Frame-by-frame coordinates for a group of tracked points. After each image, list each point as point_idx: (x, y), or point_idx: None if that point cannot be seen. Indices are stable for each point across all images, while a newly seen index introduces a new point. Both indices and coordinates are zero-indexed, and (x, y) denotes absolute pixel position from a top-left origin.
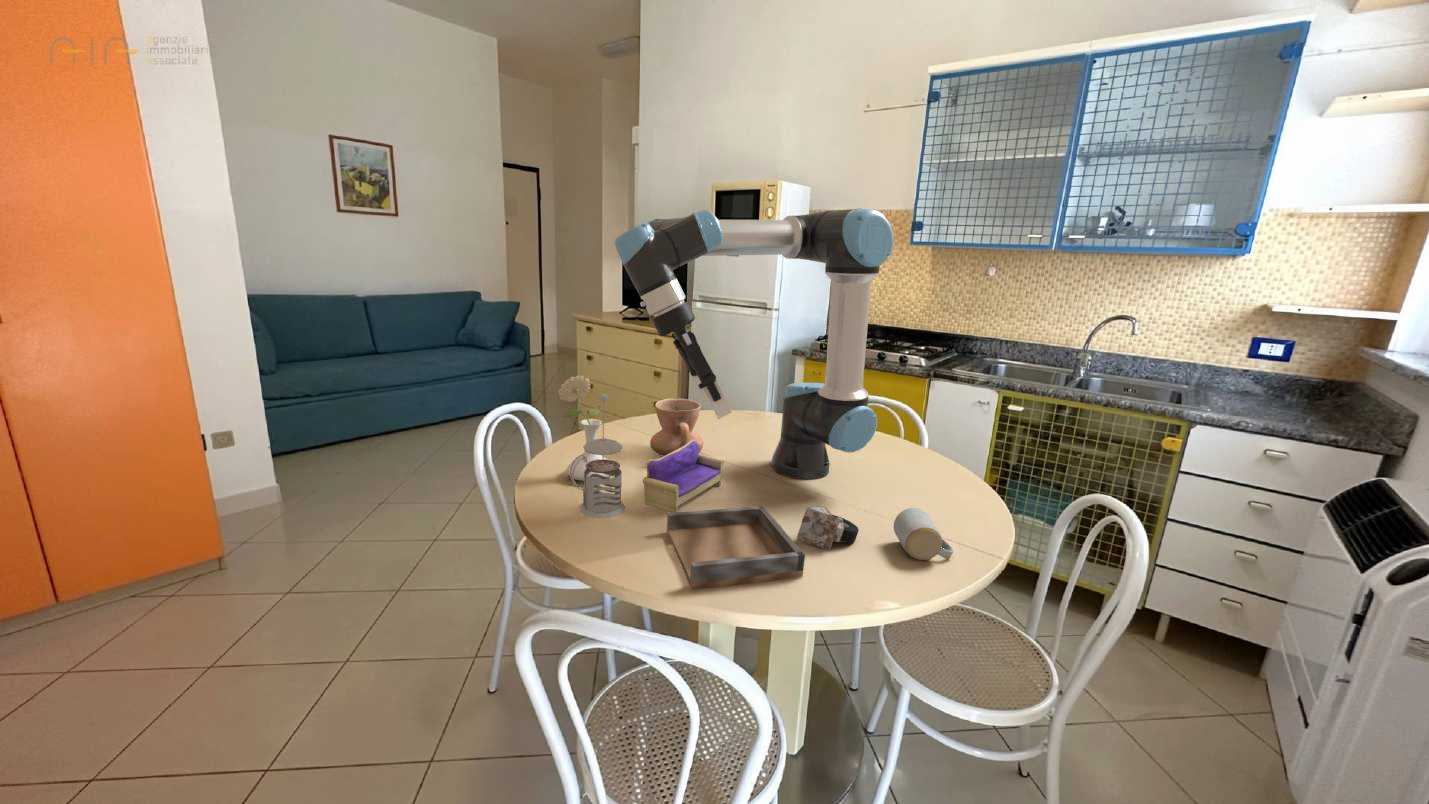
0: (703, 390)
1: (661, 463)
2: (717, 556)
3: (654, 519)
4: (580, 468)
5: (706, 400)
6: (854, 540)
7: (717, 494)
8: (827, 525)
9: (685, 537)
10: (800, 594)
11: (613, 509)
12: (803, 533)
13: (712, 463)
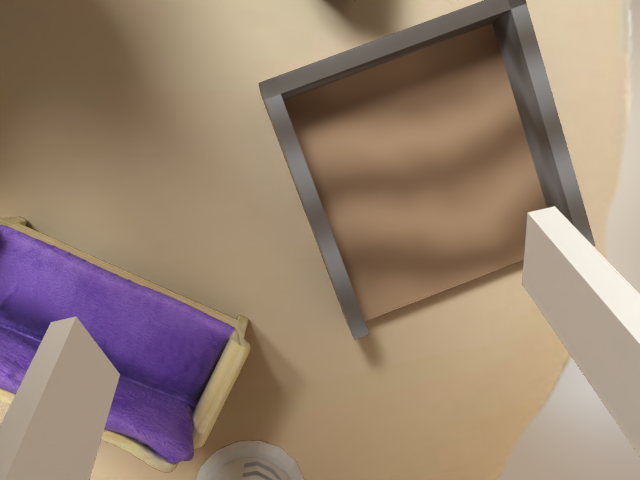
0: (75, 461)
1: (148, 425)
2: (467, 198)
3: (284, 363)
4: None
5: (106, 397)
6: None
7: (88, 222)
8: None
9: (393, 278)
10: (559, 20)
11: (277, 467)
12: None
13: None
